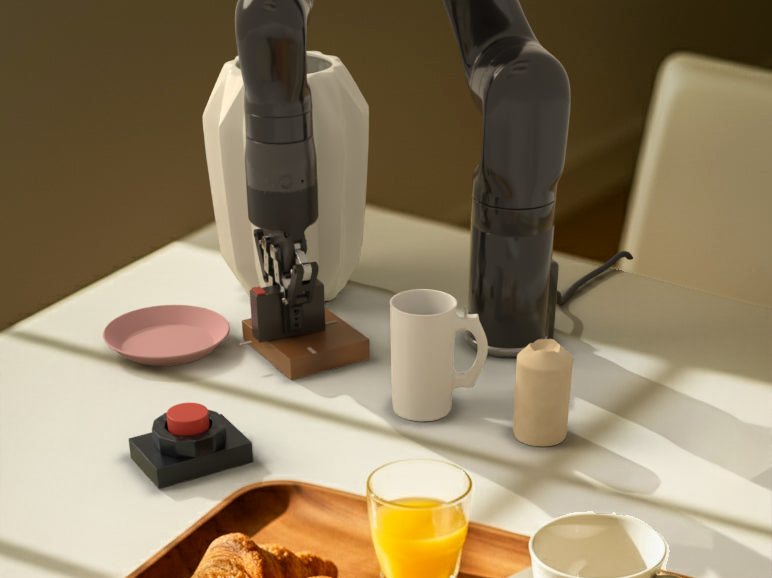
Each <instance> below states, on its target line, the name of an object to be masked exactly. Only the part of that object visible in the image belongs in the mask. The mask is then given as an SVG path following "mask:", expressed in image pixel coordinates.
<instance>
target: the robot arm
mask: <svg viewBox="0 0 772 578" xmlns="http://www.w3.org/2000/svg"><path fill="white" fill-rule="evenodd" d="M314 2H315V0H237V2H236V6H235V10H234V11H235V12H234V31H235V42H236V50H237V56H238V57H239V63H240V69H241V74H242V79H243V84H244V115H245V132H246V144H245V173H246V189H247V205H248V218H249V221H250V222H251V223H252V224H253V225H254V226H256V227H258V228H259V229H254V233H253V234H254V238H255V243H256V247H257V252H258V257H259V261H260V266H261V271H262V275H263V280H264V282H265V283H267V282H269V286H274V285H280V290H281V302H282V316H283V332H284V333H285V334H286V335H287V336H294V335H299V334H302V333H303V331H304V321H303V304H306V303H311V302H312V298H313V293H314V289H315V284H316V280H317V275H318V271H319V267H318V264H317V262H316V261H315V262H309V261H308V259H307V256H308V253H309V251H308V242H307V240H306V238H305V234H304V232H305V230H306V229H307V228H308V227H309V226H310V225H313V224H314V223H315V222H316V221H317V219H318V216H319V212H318V182H317V155H316V148H315V143H314V134H313V104H312V94H311V88H310V85H309V82H308V81H307V51H308V49H307V39H308V38H307V37H308V36H307V35H308V26H309V24H310V20H311V17H312V12H313V7H314ZM440 2H441V4H442V6H443V8H444V11H445V13H446V16H447V18H448V21H449V24H450V27H451V28H450V29H451V31H452V35H453V38H454V41H455V44H456V47H457V51H458V55H459V58H460V61H461V65H462V70H463V73H464V77H465V81H466V85H467V88H468V92H469V96H470V98H471V100H472V103H473V104H474V106H475V108H476V109H477V111H478V112H479V114H481V116H482V134H481V149H480V160H479V164H477V166H476V167H474V169H473V172H472V175H471V177H472V179H471V203H470V236H469V237H470V239H469V266H468V267H469V269H468V295H467V297H468V298H467V309H466V308H465V307H464V311H463V317H465V316H466V315H467V314H478V316H479V321H480V323H481V325H482V327H483V330H484V332H485V335H486V338H487V343H488V352H487V356H493V357H500V358H517V355H518V353H519V352H521V351H522V350H523V349H524V348H525V347H527V346H528V345H529V344H530V343H534V342H536V341H537V340H539V339H553V340H555V325H556V312H557V306H561V305H563V304H565V303H566V302H567V301H568V300H569V299H570V298H571V297H572V296H573V295H574V293H576V291H577V290H578V289H580V288H581V287H582V286H584V285H585V284H586V283H587V282H589V281H591V280H592V279H594V278H595V277H597V276H599V275H600V274H602V273H604V272H605V271H607V270H608V269H610V268H611V267H612V266H613V265H615V264H616V263H617V262H619V260H621V259H622V258H626V260H629V261H631V260H632V261H633V260H634V257H633V254H631V252H629V251H627V250H621V251H619V252H618V253H615V254H614V255H613V256H612V257H611V258H610V259H608V260H607V261H606V262H605V263H603V264H602V265H600V266H599V267H597V268H595V269H593V270H591V271H590V272H588V273H587V274H586V275H584V276H582V277H581V278H580V279H578V280H577V281H575V282H574V283H573V284H572V285H571V286H570V287H568V288H567V290H566V291H565V292H564V293H563V295H562V292H560V290H558V286H559V285H558V284H559V283H558V282H559V271H560V269H559V268H560V265H559V263H558V262H557V261H556V260H555V259H553V251H554V235H555V221H556V208H557V207H556V205H557V192H558V186H559V182H560V180H561V177H562V175H563V172H564V169H565V163H566V156H567V155H566V154H567V145H568V136H569V127H570V116H571V95H572V94H571V85H570V80H569V76H568V73H567V71H566V69H565V67H564V65H563V64H562V63H561V62H560V61H559V59H557V58H556V56H554V55H553V54H552V53H551V52H549V51H548V50H547V49H546V48H544V47H543V46H542V45H541V43H540V42H539V40H538V39H537V36H536V35H535V33H534V32H533V30H532V29H533V28H532V27H531V26H530V24H529V21H528V19H527V17H526V15H525V13H524V11H523V7H522V5H521V4H520V3H521V2H520V1H519V0H440ZM288 286H289V290H288ZM465 341H466V343H467V345H468V346H470V348H472V349H473V350H475V351H477V352H478V345H477V341H476V339H475V337H474V335H473V334H472V333H471V332H470V331H468V330H465Z"/></svg>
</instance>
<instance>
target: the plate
mask: <svg viewBox="0 0 772 578" xmlns="http://www.w3.org/2000/svg"><path fill="white" fill-rule="evenodd" d="M230 331H231V326H230V323H229V321H228V320H227V318H226V317H225V316H223V315H222V314H220V313H218V312H216V311H214V310H211V309H209V308H205V307H202V306H196V305H188V304H187V305H186V304H162V305H160V304H159V305H154V306H153V305H152V306H147V307H142V308H138V309H134V310H131V311H129V312H126V313H123V314H121V315H119V316H117V317H115V318H113V319H112V320H111V321H109V322H108V324H107V325H106V326H105V327H104V329H103V331H102V339H103V341H104V343H105V344H106V345H107V346H108V348H110V349H112V351H115V352H116V353H117V354H119V355H120V356H122V357H124V358H125V359H127V360H129V361H131V362H134V363H137V364H141V365H146V366H154V367H171V366H179V365H184V364H189V363H192V362H195V361H198V360H200V359H203V358H204V357H207V356H208V355H209V354H210V353H212V352H214V350H215V349H216V348H218V346H219V345H220V344H222V343H223V342H224V341H225V340H226V339H227V338H228V336H229V334H230Z"/></svg>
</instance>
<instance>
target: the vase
mask: <svg viewBox="0 0 772 578" xmlns="http://www.w3.org/2000/svg"><path fill="white" fill-rule="evenodd" d="M307 81H308V82H309V85H310V88H311V94H312V104H313V134H314V143H315V148H316V155H317V182H318V212H319V216H318V219H317V221H316V222H315V223H314V224H313V225H310V226H309V227H308V228H307V229H306V230H305V232H304V234H305V238H306V240H307V242H308V251H309V253H308V256H307V259H308V261H309V262H315V261H316V262H317V264H318V267H319V271H318V275H317V279H318V280H319V281H320V282H322V283H323V284H324V301H325V302H328V301H332V300H335V299H336V298H337V296H338V295H339V293H340V292H341V291H342V290H343V289H344V288H345V287H346V285H347V284H348V281H349V280H350V278H351V276H352V275H353V273H354V271H355V269H356V267H357V265H358V263H359V262H360V259H361V253H362V247H363V243H364V232H365V218H366V208H367V207H366V205H367V186H368V183H367V182H368V164H369V147H370V145H369V144H370V140H369V139H370V107H369V106H370V105H369V104H368V102H367V100H366V99H365V97H364V95H363V94H362V92H361V90H360V88H359V86H358V84H357V83H356V81H355V80H354V78H353V76H352V75H351V73H350V71H349V69H348V68H347V67H346V65H345V64H344V63H343V62H342V60H341V58H340V57H338V56H336V55H330V54H329V55H328V54H324V53H322V52H321V51H319V50H307ZM202 129H203V138H204V148H205V156H206V164H207V173H208V179H209V186H210V193H211V199H212V206H213V207H212V208H213V213H214V220H215V225H216V232H217V238H218V245H219V249H220V253H221V254H220V255H221V257H222V259H223V261H224V262H225V264H226V265H227V266H228V268H229V270H230V271H231V272H232V274H233V276H234V277H235V279H236V280H237V281H238V283H239V285H240V286H241V287H242V289H243V290H244V292H245V293H246V294H247V296H248V297H249V298H250V290H251V288H253V287H259V286H260V287H261V288H263V287H268V286H269V282H267V283H265V282H264V280H263V275H262V271H261V266H260V261H259V257H258V252H257V247H256V243H255V238H254V234H253V233H254V229H259V228H258V227H256V226H254V225H253V224H252V223H251V222H250V221H249V218H248V205H247V189H246V173H245V144H246V132H245V115H244V84H243V79H242V74H241V69H240V63H239V57H238V55H236V56H235V58H234V59H232V60H229V61H226V62H225V63H224V64H223V66H222V68H221V70H220V72H219V75H218V77H217V79H216V82H215V84H214V87H213V89H212V91H211V94H210V96H209V99H208V101H207V103H206V106H205V108H204V111H203V113H202Z"/></svg>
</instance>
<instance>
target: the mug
mask: <svg viewBox="0 0 772 578" xmlns="http://www.w3.org/2000/svg"><path fill="white" fill-rule="evenodd" d="M389 305H390V306H389V308H390V309H389V310H390V311H389V316H390V317H389V324H390V325H389V327H390V328H389V329H390V332H389V333H390V334H389V335H390V366H391V367H390V371H391V373H390V374H391V398H392V400H391V401H392V402H391V404H392V410H393V412H394V413H395V414H396V416H399V417H400V418H402V419H405V420H408V421H413V422H433V421H437V420H440V419H443V418H445V417H446V416H448V415H449V414H450V412H451V410H452V406H453V405H452V403H453V392H454V390H456V389H460V388H461V389H462V388H465V389H472V388H473V387H474V386H475V385H476V383H477V380H478V378H479V376H480V374H481V373H482V370H483V368H484V366H485V364H486V360H487V357H488V354H487V352H488V343H487V338H486V335H485V332H484V330H483V327H482V325H481V323H480V321H479V316H478V314H467V315H466V316H465V317H464V316H459V315H458V313H457V308H458V307H457V306H458V300H457V298H455V297H454V295H452V294H449V292H446V291H445V292H444V291H441V290H438V289H437V290H435V289H430V288H429V289H428V288H415V289H408V290H405V291H404V290H403V291H401V292H398V293H396V294H395V295H393V296H392V297H390V299H389ZM460 330H465V331H466V330H468V331H470V332H471V333H472V334H473V335H474V337H475V339H476V341H477V345H478V351H477V353H476V357H475V360H474V362H473V365H472V366H471V368H469V369H468V370H467V371H465V372H459V371H456V370H455V366H454V365H455V348H456V347H455V346H456V345H455V344H456V333H457V332H458V331H460Z"/></svg>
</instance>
